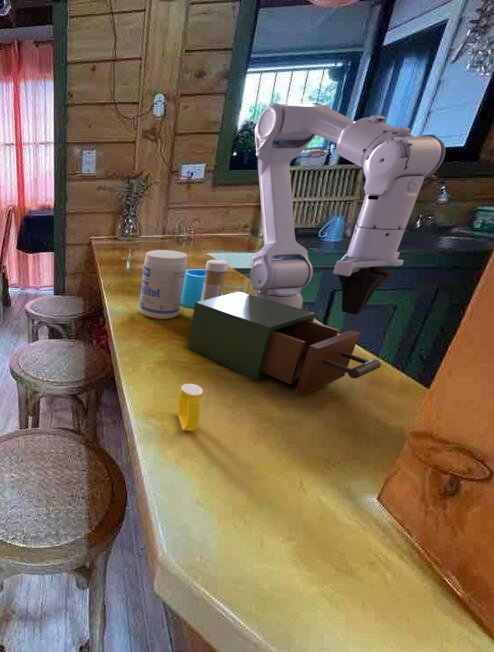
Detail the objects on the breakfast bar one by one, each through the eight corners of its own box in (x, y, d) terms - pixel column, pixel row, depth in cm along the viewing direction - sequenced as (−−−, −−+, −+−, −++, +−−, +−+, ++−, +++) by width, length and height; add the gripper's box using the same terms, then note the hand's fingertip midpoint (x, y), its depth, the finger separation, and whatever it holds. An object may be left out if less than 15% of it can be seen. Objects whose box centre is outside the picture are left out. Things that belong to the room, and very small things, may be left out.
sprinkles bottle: (222, 317, 89) (233, 261, 83) (210, 322, 87) (221, 264, 81) (205, 312, 92) (214, 258, 87) (193, 316, 90) (202, 260, 85)
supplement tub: (131, 313, 93) (136, 253, 87) (151, 304, 99) (158, 248, 93) (166, 323, 87) (175, 259, 80) (186, 313, 92) (195, 253, 86)
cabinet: (300, 362, 68) (315, 313, 64) (256, 380, 63) (269, 327, 59) (230, 335, 80) (239, 291, 76) (187, 347, 75) (195, 302, 71)
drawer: (378, 389, 58) (397, 343, 55) (337, 410, 53) (355, 361, 50) (266, 346, 72) (275, 308, 69) (226, 359, 68) (234, 319, 65)
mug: (214, 309, 94) (220, 277, 91) (180, 307, 96) (184, 276, 93) (209, 295, 105) (214, 266, 101) (178, 293, 107) (182, 265, 103)
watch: (171, 411, 55) (176, 376, 53) (191, 412, 55) (197, 377, 52) (179, 437, 50) (185, 399, 47) (200, 439, 49) (208, 401, 47)
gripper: (388, 234, 50) (354, 328, 55) (436, 225, 56) (402, 311, 61) (330, 228, 56) (305, 314, 61) (379, 221, 62) (353, 300, 67)
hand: (350, 312), depth 62 cm, fingers closed
